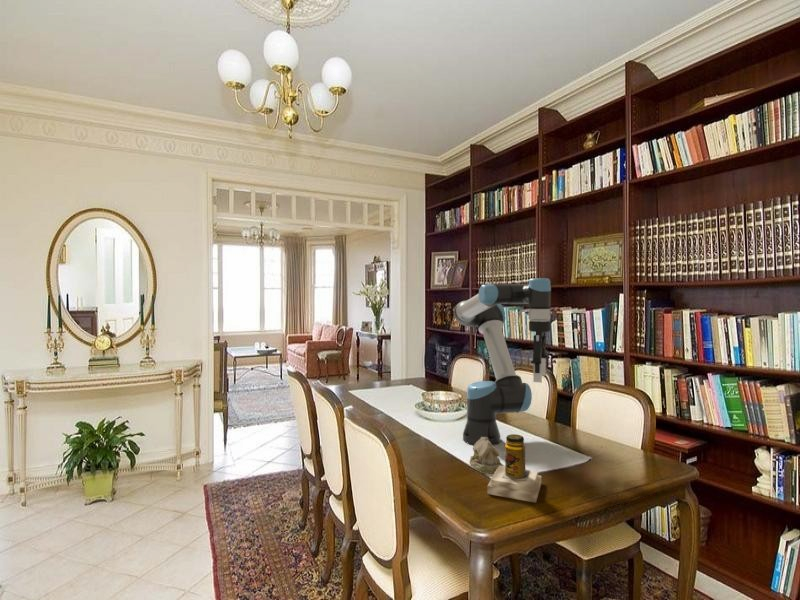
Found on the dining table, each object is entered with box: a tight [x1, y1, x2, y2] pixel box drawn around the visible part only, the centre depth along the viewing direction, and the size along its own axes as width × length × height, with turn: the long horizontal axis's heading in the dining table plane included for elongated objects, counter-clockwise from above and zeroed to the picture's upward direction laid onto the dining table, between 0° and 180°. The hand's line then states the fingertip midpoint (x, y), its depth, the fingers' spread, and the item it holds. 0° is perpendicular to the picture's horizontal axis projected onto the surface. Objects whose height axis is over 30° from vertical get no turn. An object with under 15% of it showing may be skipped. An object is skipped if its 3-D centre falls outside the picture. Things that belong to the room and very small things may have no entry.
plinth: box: [486, 464, 542, 503], centre depth 134 cm, size 14×14×4 cm
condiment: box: [502, 433, 531, 481], centre depth 135 cm, size 7×8×12 cm
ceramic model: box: [469, 437, 502, 474], centre depth 153 cm, size 14×11×10 cm
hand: (539, 378), depth 160 cm, fingers open, 13 cm apart
